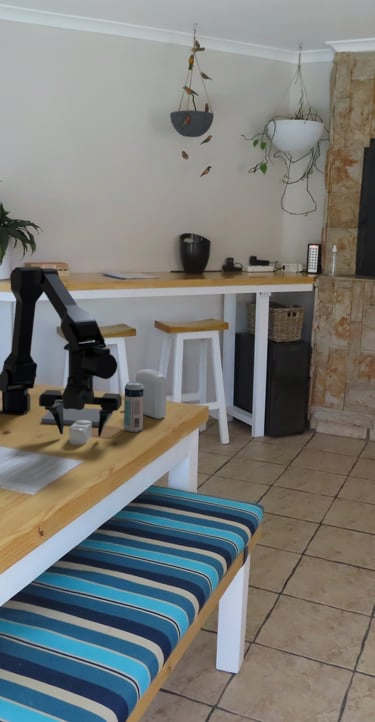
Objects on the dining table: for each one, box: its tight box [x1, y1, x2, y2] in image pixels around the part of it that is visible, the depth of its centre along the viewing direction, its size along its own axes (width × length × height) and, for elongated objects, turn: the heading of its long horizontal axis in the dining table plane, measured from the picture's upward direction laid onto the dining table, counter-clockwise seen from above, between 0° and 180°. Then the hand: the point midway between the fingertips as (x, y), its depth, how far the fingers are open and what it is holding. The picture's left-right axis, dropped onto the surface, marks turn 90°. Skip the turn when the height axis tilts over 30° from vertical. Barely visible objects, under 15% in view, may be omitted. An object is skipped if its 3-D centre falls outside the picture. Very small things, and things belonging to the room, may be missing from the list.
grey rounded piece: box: [68, 420, 93, 446], centre depth 166 cm, size 4×11×4 cm, turn 174°
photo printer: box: [135, 368, 167, 420], centre depth 187 cm, size 10×4×12 cm, turn 39°
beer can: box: [123, 381, 144, 433], centre depth 173 cm, size 5×5×12 cm
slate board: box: [41, 407, 114, 427], centre depth 182 cm, size 16×12×1 cm
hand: (80, 435), depth 165 cm, fingers open, 9 cm apart
